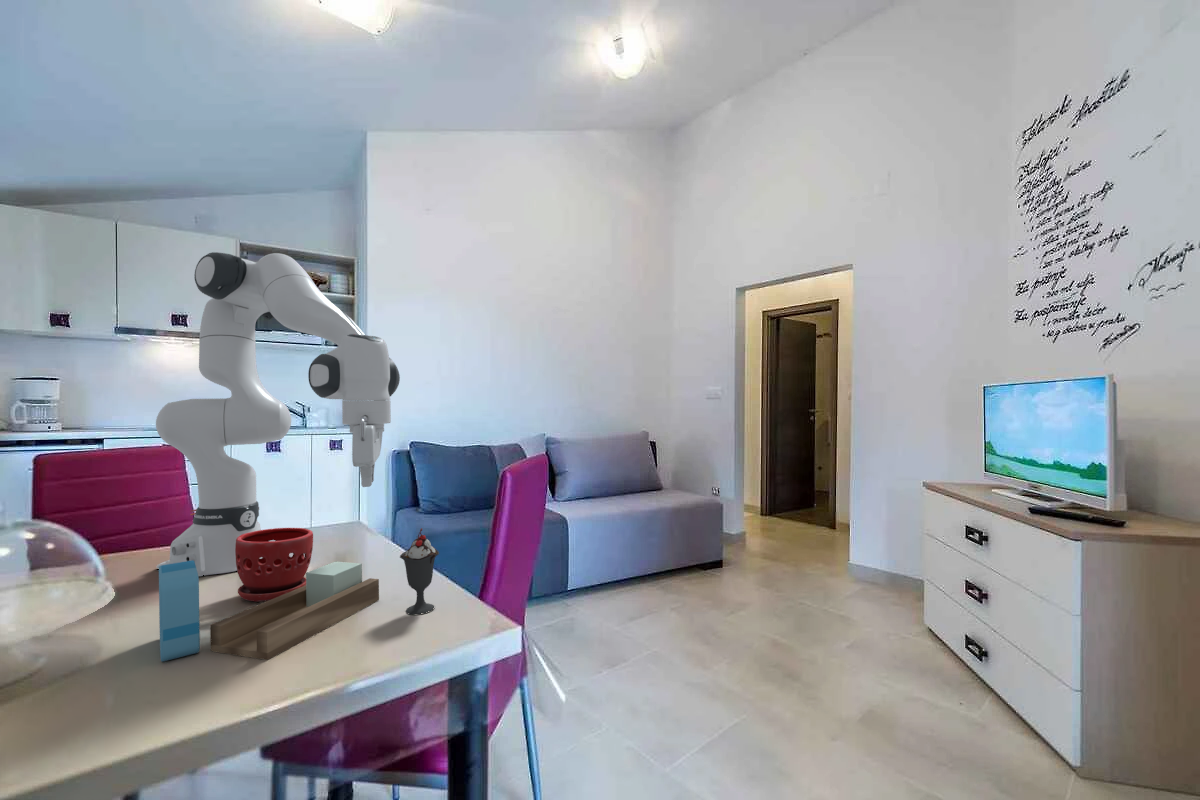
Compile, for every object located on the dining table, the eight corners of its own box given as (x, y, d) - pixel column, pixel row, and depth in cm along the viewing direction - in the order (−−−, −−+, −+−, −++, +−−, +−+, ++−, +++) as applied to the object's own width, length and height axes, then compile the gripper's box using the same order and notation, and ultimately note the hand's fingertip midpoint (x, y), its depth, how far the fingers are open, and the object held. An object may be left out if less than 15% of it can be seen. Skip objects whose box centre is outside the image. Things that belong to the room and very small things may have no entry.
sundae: (419, 619, 91) (418, 532, 91) (392, 612, 95) (391, 528, 95) (447, 606, 97) (446, 524, 97) (421, 600, 100) (420, 520, 100)
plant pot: (256, 611, 96) (255, 545, 96) (223, 598, 103) (222, 536, 103) (326, 589, 107) (326, 530, 107) (292, 578, 114) (291, 522, 114)
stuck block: (306, 606, 95) (306, 572, 95) (336, 592, 102) (335, 561, 102) (334, 609, 93) (333, 575, 93) (362, 595, 100) (361, 563, 100)
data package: (199, 655, 80) (198, 575, 80) (160, 665, 77) (159, 582, 77) (194, 630, 89) (193, 558, 89) (159, 638, 86) (158, 563, 86)
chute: (210, 651, 81) (210, 624, 81) (331, 595, 104) (331, 574, 104) (267, 659, 78) (267, 632, 78) (379, 600, 101) (378, 579, 101)
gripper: (380, 416, 97) (382, 491, 97) (386, 413, 117) (387, 477, 117) (342, 416, 95) (343, 494, 95) (354, 414, 115) (355, 478, 115)
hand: (367, 484), depth 106 cm, fingers open, 4 cm apart
